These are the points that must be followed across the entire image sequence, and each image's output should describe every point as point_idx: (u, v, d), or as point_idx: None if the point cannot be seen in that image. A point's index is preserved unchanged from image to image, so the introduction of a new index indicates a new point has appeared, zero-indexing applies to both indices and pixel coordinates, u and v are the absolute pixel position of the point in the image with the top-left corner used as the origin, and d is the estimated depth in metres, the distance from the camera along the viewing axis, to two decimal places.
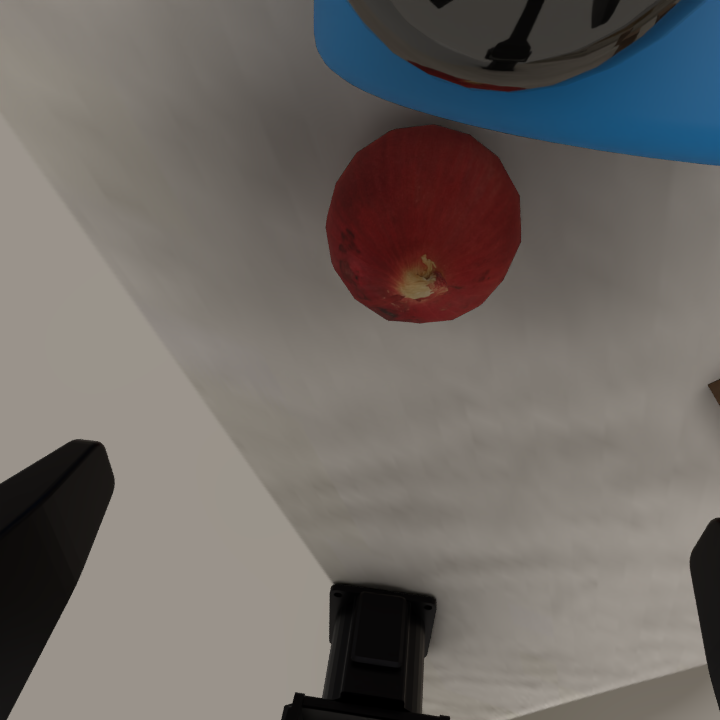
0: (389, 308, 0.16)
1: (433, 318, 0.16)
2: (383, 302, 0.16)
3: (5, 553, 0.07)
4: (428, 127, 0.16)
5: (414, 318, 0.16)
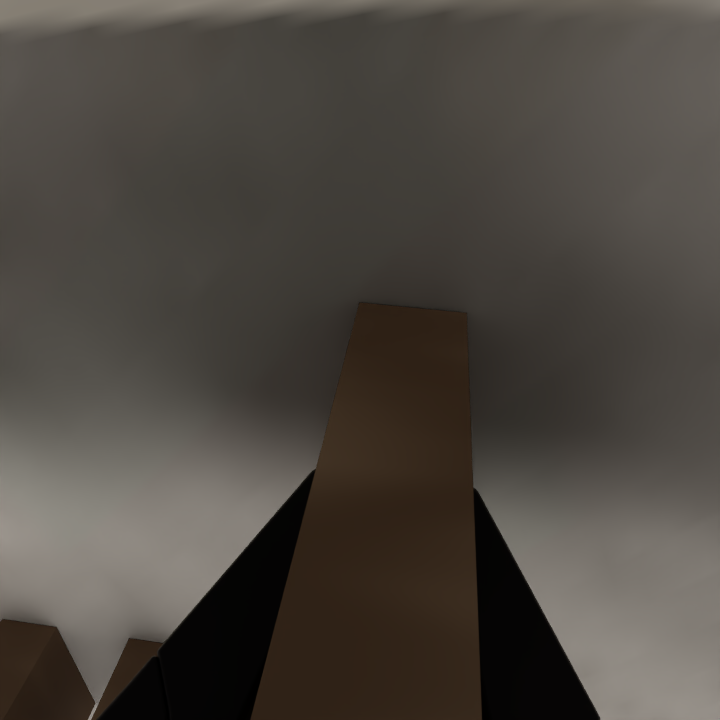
0: None
1: None
2: None
3: None
4: None
5: None
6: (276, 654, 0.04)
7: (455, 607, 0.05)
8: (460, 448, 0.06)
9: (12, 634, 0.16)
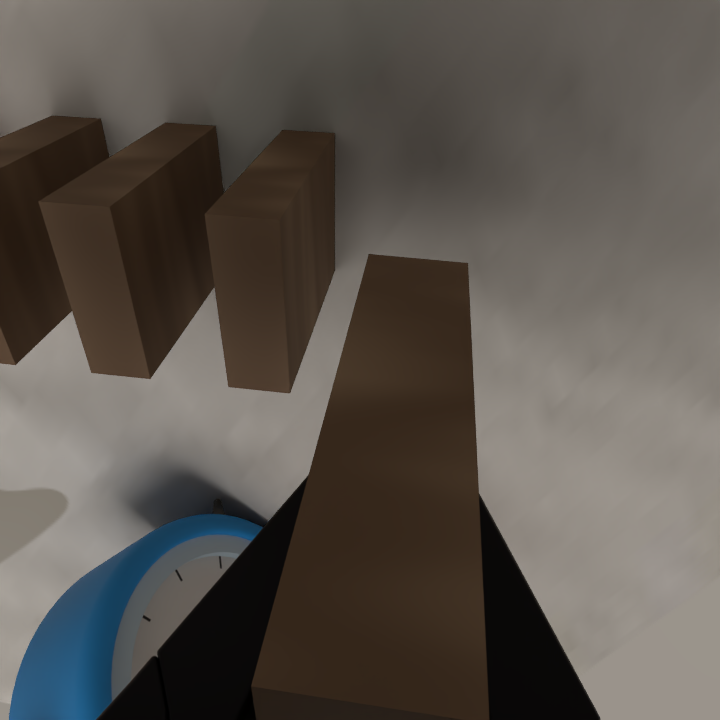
0: None
1: None
2: None
3: None
4: None
5: None
6: (305, 515, 0.05)
7: (459, 483, 0.05)
8: (462, 367, 0.07)
9: (62, 119, 0.18)
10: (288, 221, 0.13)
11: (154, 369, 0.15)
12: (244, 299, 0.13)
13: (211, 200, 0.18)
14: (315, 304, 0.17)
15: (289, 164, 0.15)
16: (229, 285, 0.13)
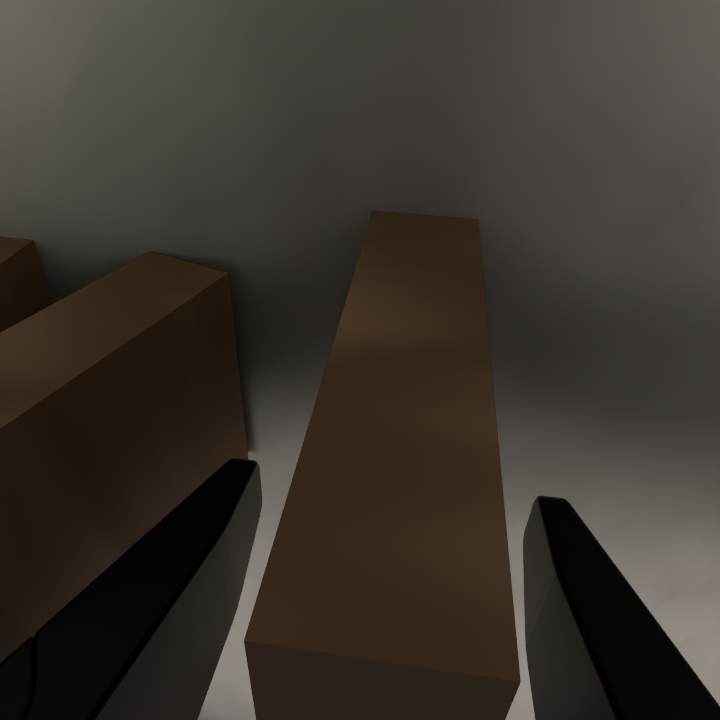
0: None
1: None
2: None
3: (199, 580, 0.07)
4: None
5: None
6: (306, 462, 0.05)
7: (476, 430, 0.05)
8: (476, 316, 0.06)
9: None
10: None
11: None
12: None
13: None
14: None
15: (30, 366, 0.07)
16: None
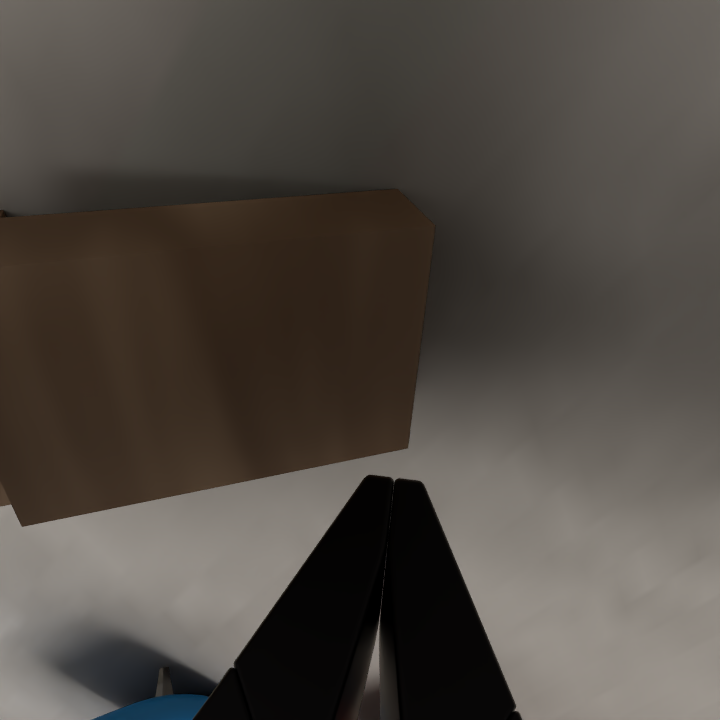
0: None
1: None
2: None
3: None
4: None
5: None
6: (54, 217, 0.08)
7: (92, 251, 0.07)
8: (237, 238, 0.08)
9: None
10: None
11: None
12: None
13: None
14: None
15: None
16: None
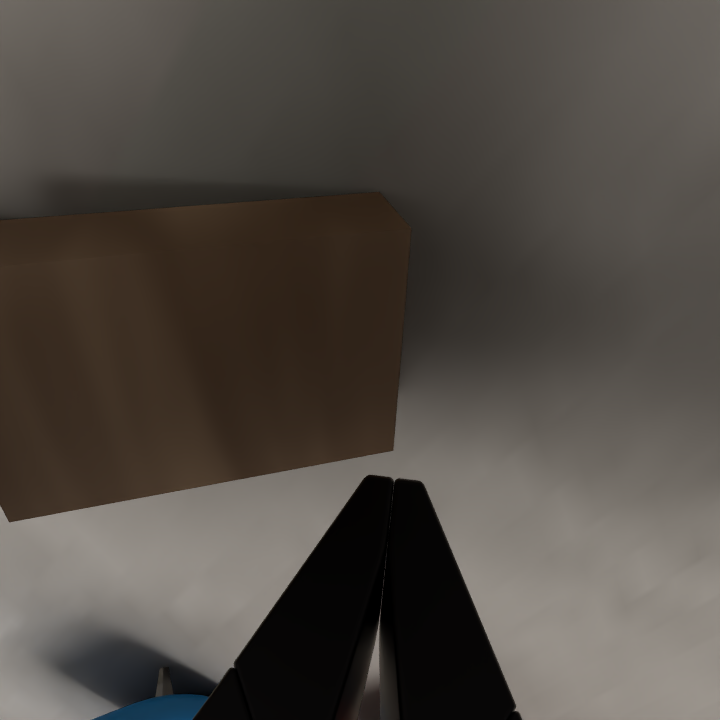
0: None
1: None
2: None
3: None
4: None
5: None
6: (38, 220, 0.09)
7: (69, 253, 0.08)
8: (212, 241, 0.08)
9: None
10: None
11: None
12: None
13: None
14: None
15: None
16: None
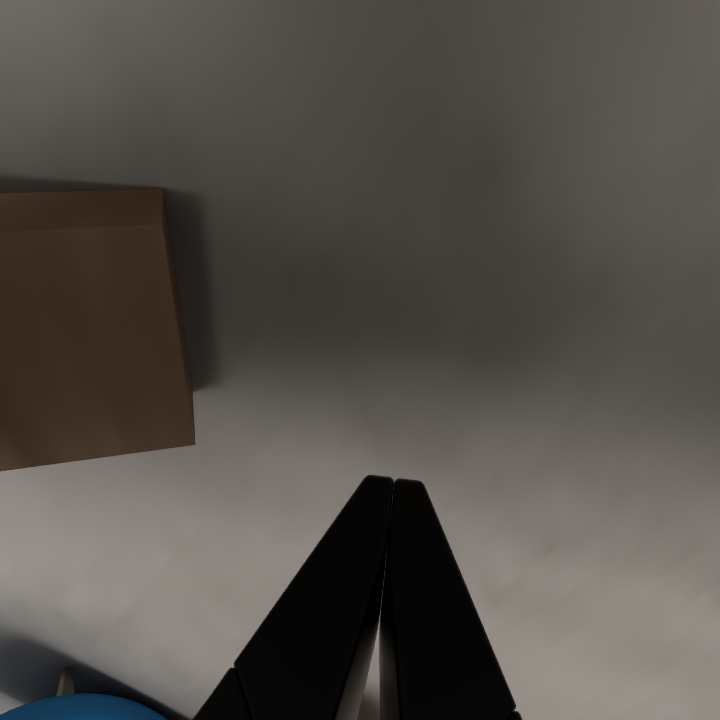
0: None
1: None
2: None
3: None
4: None
5: None
6: None
7: None
8: None
9: None
10: None
11: None
12: None
13: None
14: None
15: None
16: None
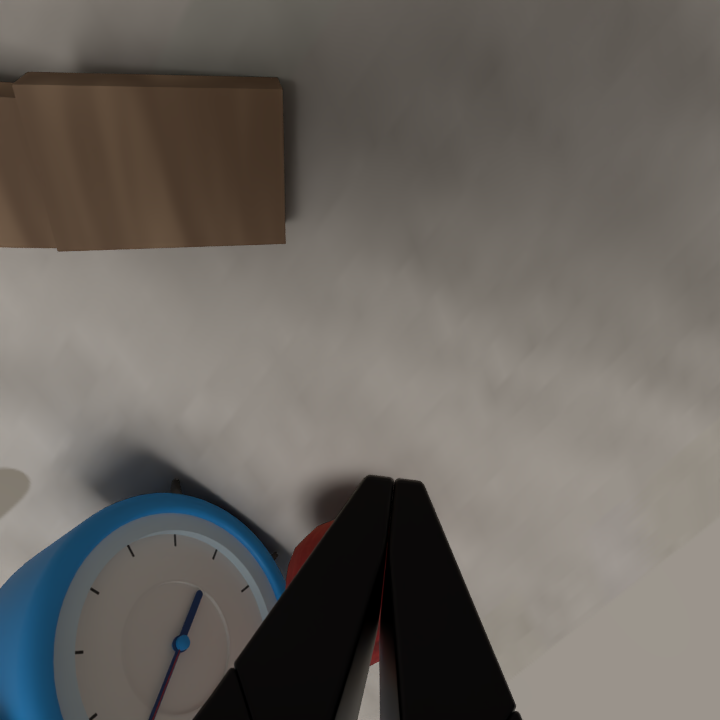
0: (374, 651, 0.23)
1: None
2: (372, 657, 0.23)
3: None
4: None
5: None
6: (85, 74, 0.16)
7: (99, 84, 0.15)
8: (173, 85, 0.15)
9: None
10: None
11: None
12: None
13: None
14: (14, 230, 0.18)
15: None
16: None
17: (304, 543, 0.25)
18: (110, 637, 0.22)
